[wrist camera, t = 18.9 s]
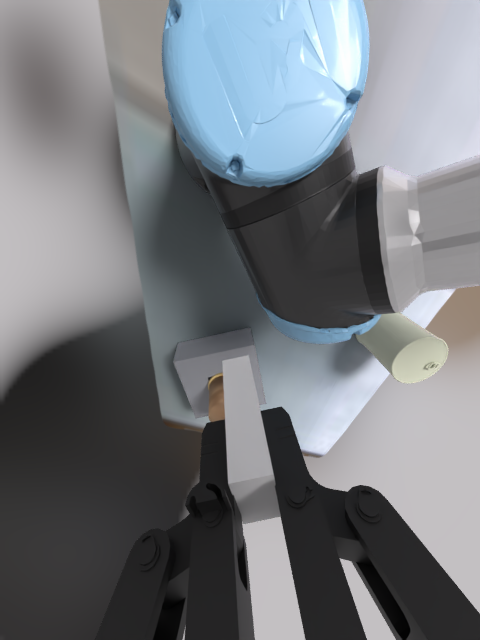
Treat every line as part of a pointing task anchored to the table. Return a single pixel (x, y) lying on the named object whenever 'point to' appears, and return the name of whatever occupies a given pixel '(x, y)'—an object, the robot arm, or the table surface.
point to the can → (405, 348)
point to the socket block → (213, 364)
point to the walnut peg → (216, 398)
